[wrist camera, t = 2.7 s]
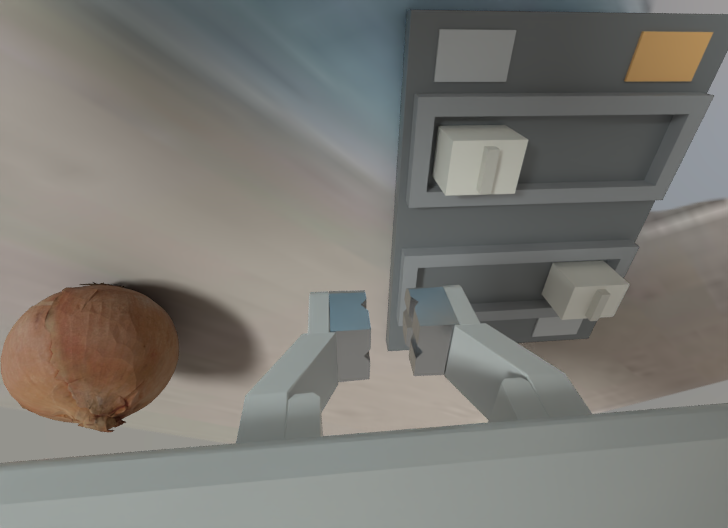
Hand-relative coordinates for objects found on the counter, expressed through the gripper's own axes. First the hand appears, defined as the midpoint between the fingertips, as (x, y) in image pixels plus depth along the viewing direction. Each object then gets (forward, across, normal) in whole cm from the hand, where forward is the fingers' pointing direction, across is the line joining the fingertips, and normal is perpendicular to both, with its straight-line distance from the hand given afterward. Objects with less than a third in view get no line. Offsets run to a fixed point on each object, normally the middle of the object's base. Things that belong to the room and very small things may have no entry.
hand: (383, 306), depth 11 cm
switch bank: (+15, -12, +5) cm, 20 cm away
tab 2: (+14, -17, +10) cm, 24 cm away
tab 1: (+14, -7, 0) cm, 16 cm away
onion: (+15, +17, +12) cm, 26 cm away
